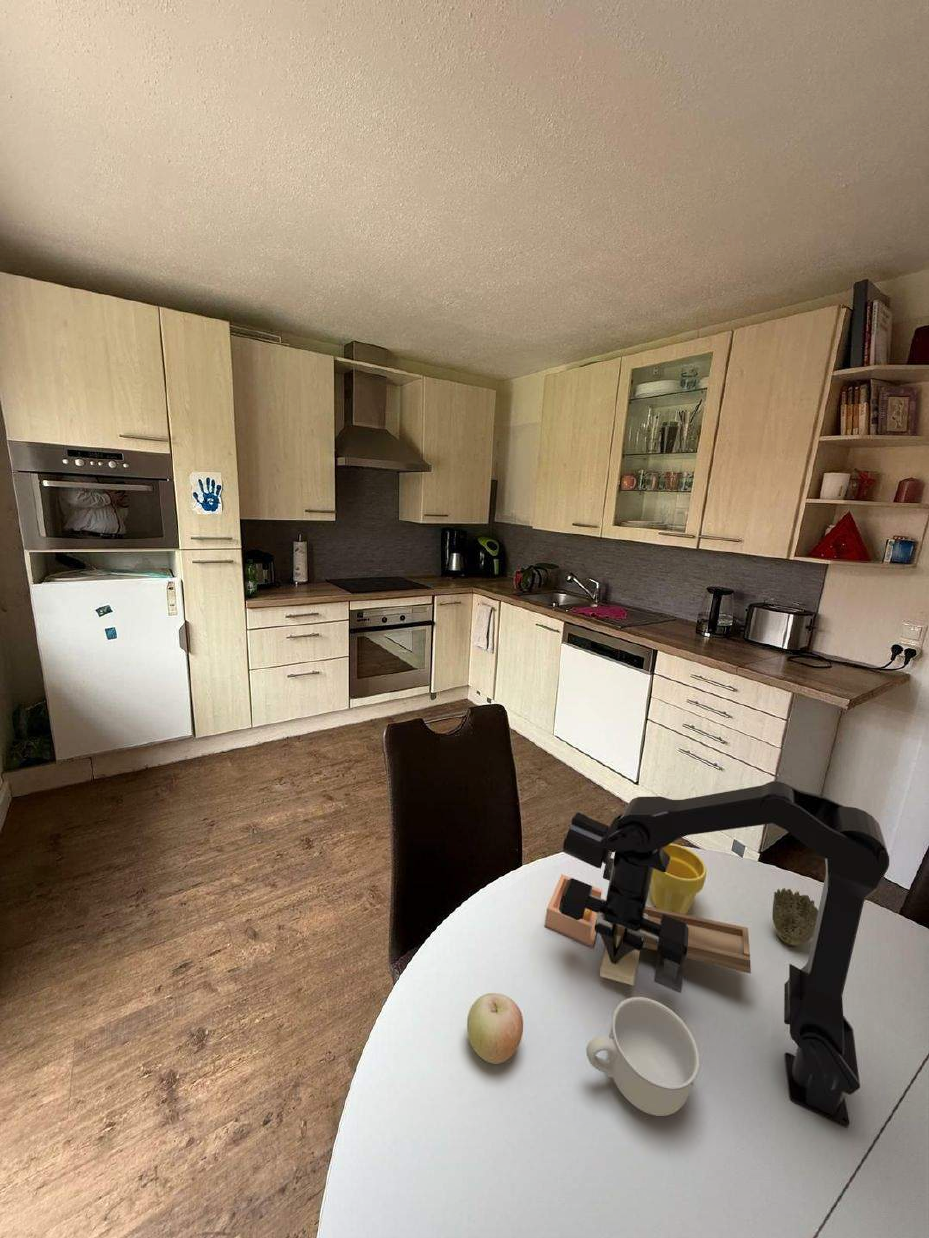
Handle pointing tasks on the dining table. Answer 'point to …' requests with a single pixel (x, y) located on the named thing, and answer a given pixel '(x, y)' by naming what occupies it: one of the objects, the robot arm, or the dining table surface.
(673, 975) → the seesaw stand
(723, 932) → the lever
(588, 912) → the ball
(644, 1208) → the dining table surface
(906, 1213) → the dining table surface
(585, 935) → the peach open tray
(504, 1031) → the fruit
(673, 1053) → the teacup
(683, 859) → the plant pot
